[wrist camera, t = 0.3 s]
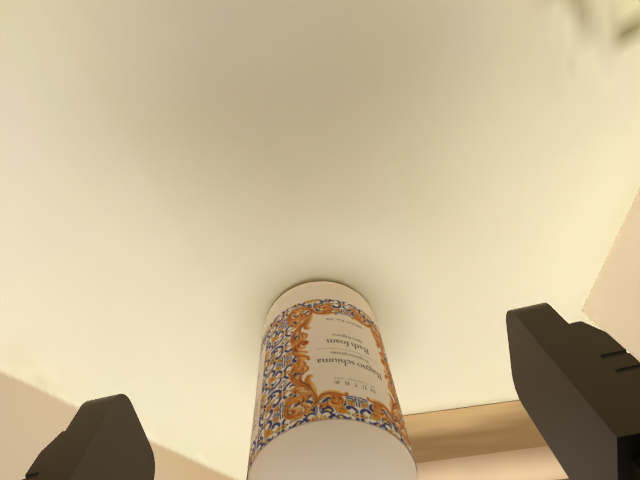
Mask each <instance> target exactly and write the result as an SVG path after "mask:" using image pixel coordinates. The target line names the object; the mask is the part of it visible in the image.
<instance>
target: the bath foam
mask: <svg viewBox="0 0 640 480" xmlns="http://www.w3.org/2000/svg"><path fill="white" fill-rule="evenodd" d="M247 480H418V472H417V466H416V463H415V459H414V455H413V452H412V448H411V445H410V441H409V437H408V434H407V430H406V426H405V423H404V419H403V415H402V412H401V408H400V405H399V401H398V397H397V394H396V390H395V386H394V383H393V379H392V375H391V372H390V368H389V365H388V361H387V357H386V354H385V350H384V346H383V343H382V339H381V336H380V333H379V329H378V326H377V322H376V319H375V316H374V313H373V311H372V309H371V307H370V306H369V304H368V303H367V302H366V300H365V299H364V298H363V297H362V296H361V295H360V294H358V293H357V292H356V291H354V290H352V289H351V288H349V287H347V286H344V285H341V284H338V283H334V282H326V281H317V282H309V283H305V284H302V285H299V286H296V287H294V288H292V289H290V290H288V291H287V292H285V293H284V294H283V295H282V296H280V297H279V298H278V299H277V300H276V301H275V303H274V304H273V305H272V307H271V309H270V310H269V313H268V315H267V318H266V321H265V324H264V330H263V338H262V345H261V353H260V362H259V371H258V380H257V389H256V398H255V408H254V417H253V426H252V435H251V444H250V453H249V462H248V471H247Z"/></svg>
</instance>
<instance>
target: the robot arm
mask: <svg viewBox="0 0 640 480" xmlns="http://www.w3.org/2000/svg"><path fill="white" fill-rule="evenodd" d="M506 324H507V333H508V342H509V351H510V360H511V370H512V377H513V381H514V385H515V389H516V391H517V394H518V397H519V399H520V401H521V403H522V405H523V407H524V408H525V410H526V411H527V413H528V415H529V416H530V418H531V419H532V421H533V422H534V424H535V426H536V427H537V429H538V430H539V432H540V434H541V435H542V437H543V438H544V440H545V441H546V443H547V445H548V446H549V448H550V449H551V451H552V452H553V454H554V456H555V457H556V459H557V460H558V462H559V463H560V465H561V467H562V468H563V470H564V471H565V473H566V474H567V476H568V478H569V479H570V480H640V362H639V361H638V360H637V359H636V358H635V357H634V356H632V355H631V354H630V353H627V352H626V349H625V348H624V347H622V346H621V345H620V344H619V343H618V342H617V341H616V340H615V339H614V338H612V337H611V336H610V335H609V334H608V333H606V332H604V331H602V330H600V329H597V328H595V327H593V326H591V325H588V324H586V323H584V322H582V321H580V322H575V323H571V324H568V323H567V322H566V321H565V320H564V319H563V318H562V317H561V316H560V315H559V314H558V313H557V312H556V311H555V310H554V309H553V308H552V307H551V306H550V305H549V304H547V303H542V304H537V305H532V306H528V307H523V308H518V309H514V310H509V311H508V312H507V314H506ZM154 474H155V461H154V455H153V451H152V449H151V446H150V444H149V441H148V439H147V437H146V435H145V432H144V430H143V428H142V426H141V423H140V421H139V419H138V417H137V414H136V412H135V410H134V408H133V406H132V403H131V401H130V400H129V398H128V397H127V396H126V395H124V394H118V395H113V396H109V397H104V398H99V399H95V400H90V401H87V402H85V403H84V404H83V405H82V406H81V407H80V409H79V410H78V412H77V414H76V415H75V417H74V418H73V420H72V421H71V423H70V425H69V426H68V428H67V429H66V431H63V432H61V433H60V434H59V435H58V436H57V437H56V438H55V439H54V440H53V441H52V442H51V443H50V444H49V445H48V446H47V447H46V448H45V449H44V450H42V451H41V452H40V454H39V455H38V457H37V458H36V460H35V461H34V463H33V464H32V466H31V467H30V469H29V470H28V472H27V473H26V475H25V476H26V479H23V480H154Z"/></svg>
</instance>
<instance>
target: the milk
mask: <svg viewBox="0 0 640 480" xmlns="http://www.w3.org/2000/svg"><path fill="white" fill-rule="evenodd" d="M582 312H583V313H585V314H586V315H587V316H588V317H589V318H590V319H592V320H593V321H594V322H595V323H596V324H597V325H599V326H600V327H601V328H602V329H603V330H604V331H606V332H607V333H608V334H609V335H610V336H611V337H613V338H614V339H615V340H616V341H617V342H618V343H620V344H621V345H622V346H623V347H624V348H625V349H627V350H628V351H629V352H630V353H631V354H632V355H634V356H635V357H636V358H637V359H638V360H639V361H640V189H639V191H638V193H637V195H636V197H635V199H634V201H633V203H632V206H631V208H630V210H629V212H628V214H627V216H626V218H625V220H624V222H623V225H622V227H621V229H620V231H619V233H618V235H617V237H616V239H615V242H614V244H613V246H612V248H611V250H610V252H609V254H608V256H607V258H606V261H605V263H604V265H603V267H602V269H601V271H600V273H599V275H598V277H597V280H596V282H595V284H594V286H593V288H592V290H591V292H590V294H589V297H588V299H587V301H586V303H585V305H584V307H583V309H582Z"/></svg>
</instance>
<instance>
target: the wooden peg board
mask: <svg viewBox="0 0 640 480" xmlns="http://www.w3.org/2000/svg"><path fill="white" fill-rule="evenodd" d="M403 419H404V423H405V426H406V430H407V434H408V437H409V441H410V445H411V448H412V452H413V455H414V459H415V463H416V466H417V472H418V480H570V479H569V478H568V476H567V474H566V473H565V471H564V470H563V468H562V467H561V465H560V463H559V462H558V460H557V459H556V457H555V456H554V454H553V452H552V451H551V449H550V448H549V446H548V445H547V443H546V441H545V440H544V438H543V437H542V435H541V434H540V432H539V430H538V429H537V427H536V426H535V424H534V422H533V421H532V419H531V418H530V416H529V415H528V413H527V411H526V410H525V408H524V407H523V405H522V403H521V401H520V400H519V401H512V402H504V403H497V404H489V405H482V406H474V407H467V408H460V409H452V410H445V411H437V412H430V413H422V414H415V415H407V416H403Z"/></svg>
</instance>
